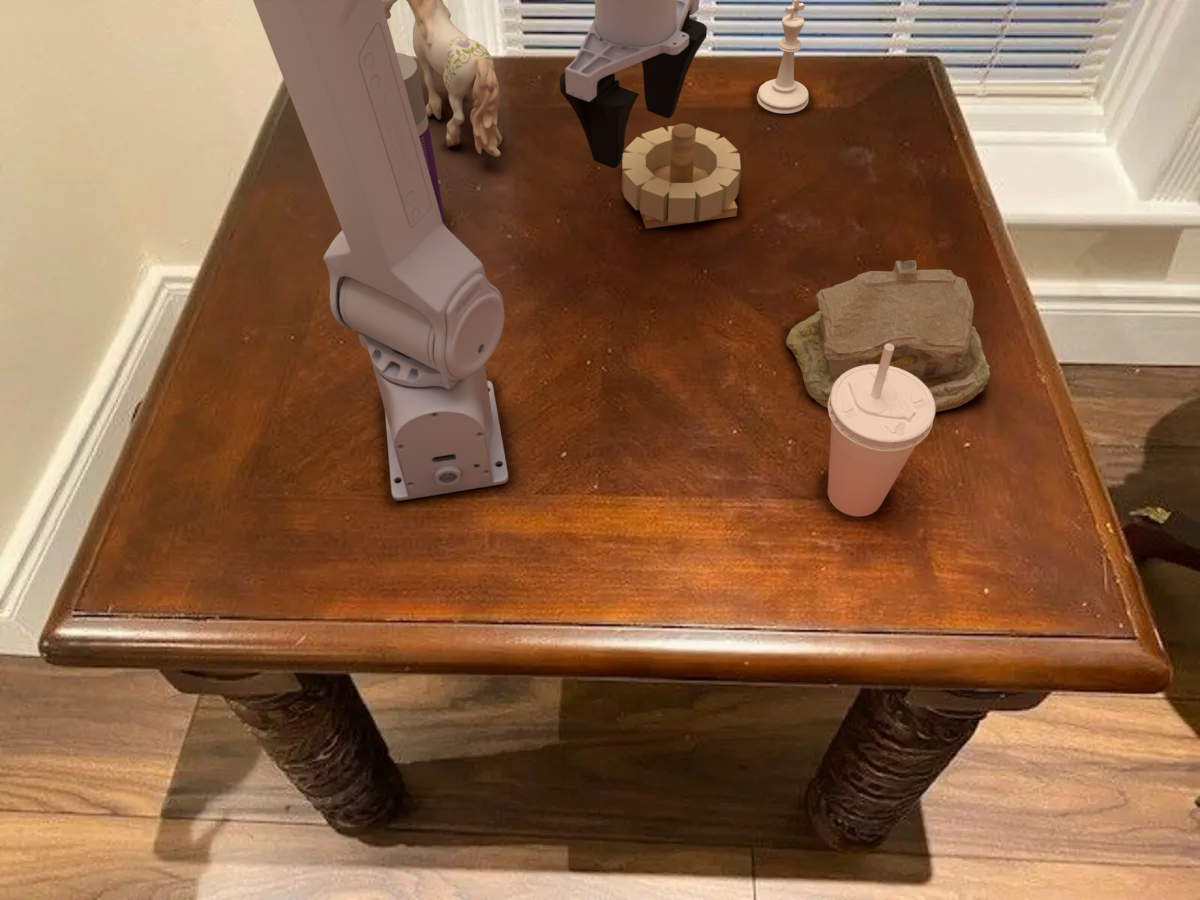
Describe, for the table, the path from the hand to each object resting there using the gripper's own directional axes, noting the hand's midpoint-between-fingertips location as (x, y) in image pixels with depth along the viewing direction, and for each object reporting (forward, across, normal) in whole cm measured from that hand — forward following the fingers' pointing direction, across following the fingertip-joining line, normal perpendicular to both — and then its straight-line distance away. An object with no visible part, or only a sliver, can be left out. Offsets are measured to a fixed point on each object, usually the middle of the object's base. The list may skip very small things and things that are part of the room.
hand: (634, 136), depth 80 cm
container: (+10, -10, +16) cm, 21 cm away
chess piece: (+10, +24, -1) cm, 26 cm away
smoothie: (+10, -14, -28) cm, 33 cm away
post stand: (+10, +7, -1) cm, 12 cm away
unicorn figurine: (+10, +2, +24) cm, 26 cm away
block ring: (+8, +7, -1) cm, 11 cm away
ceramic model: (+10, -2, -24) cm, 26 cm away
